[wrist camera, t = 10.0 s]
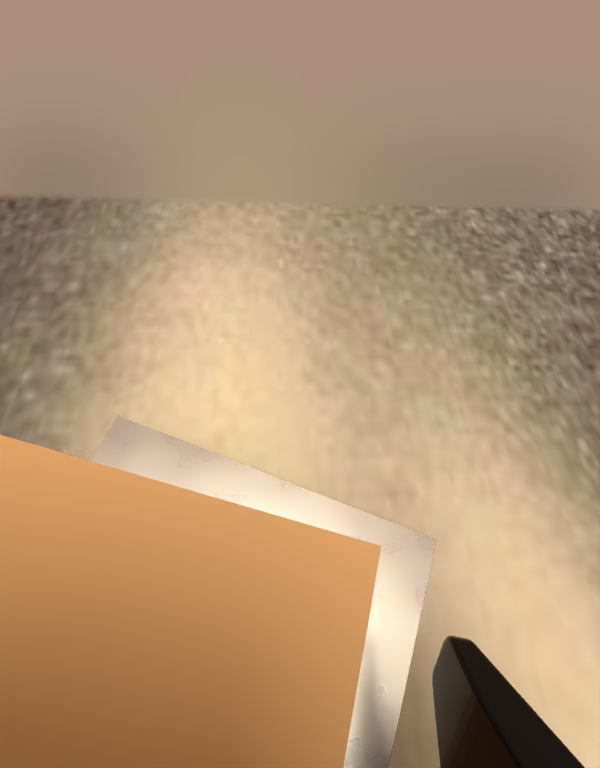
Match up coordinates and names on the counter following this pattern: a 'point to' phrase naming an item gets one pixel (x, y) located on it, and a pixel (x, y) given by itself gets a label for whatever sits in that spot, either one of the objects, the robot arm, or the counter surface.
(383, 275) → the counter surface
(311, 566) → the orange post
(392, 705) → the white peg board
